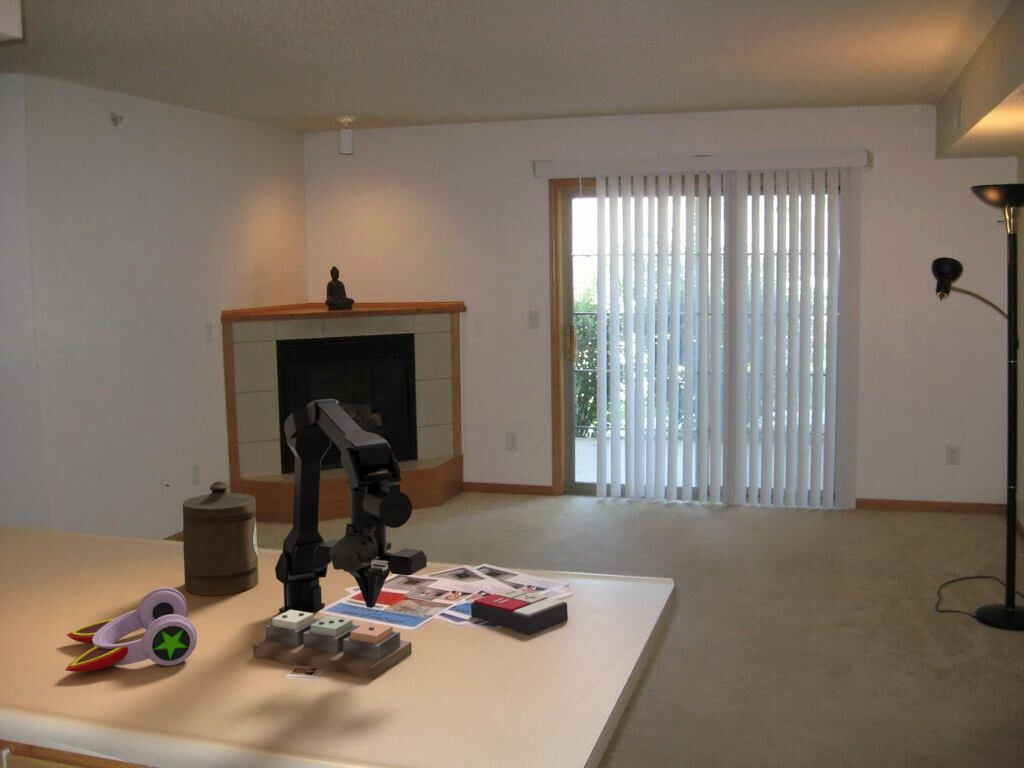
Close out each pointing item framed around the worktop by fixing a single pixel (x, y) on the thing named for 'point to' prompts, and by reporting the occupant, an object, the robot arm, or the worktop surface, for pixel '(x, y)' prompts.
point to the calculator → (520, 611)
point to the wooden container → (220, 542)
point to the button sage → (331, 626)
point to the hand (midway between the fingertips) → (370, 607)
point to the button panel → (332, 650)
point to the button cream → (293, 619)
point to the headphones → (162, 641)
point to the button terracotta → (372, 633)
